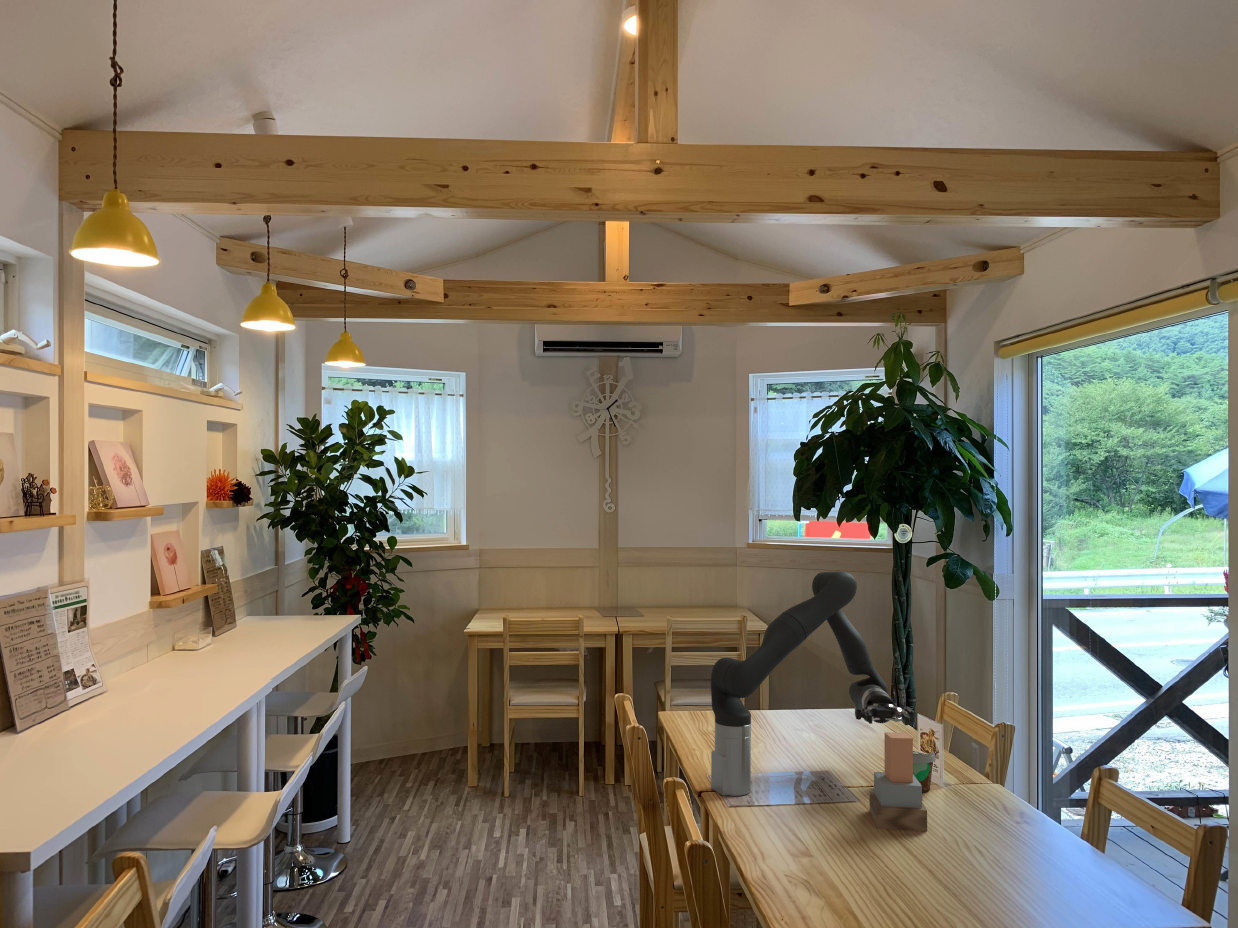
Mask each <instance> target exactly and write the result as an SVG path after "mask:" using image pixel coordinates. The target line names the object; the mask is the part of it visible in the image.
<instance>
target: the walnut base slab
mask: <svg viewBox="0 0 1238 928" xmlns="http://www.w3.org/2000/svg"><path fill="white" fill-rule="evenodd" d="M868 793H869V802H868V803H869V807H868V808H869V814H870V815H871V817H872V820H873V823H874V825H875V827H876V829H882V830H897V831H898V830H900V831H915V832H916V831H917V832H928V809H927V808H926V806H925V804H924V803H923V802H922V808H907V807H886V806H881V805H880V803H879V801H878V799H877V797H876V796H875V794H874V791H869V792H868Z"/></svg>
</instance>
